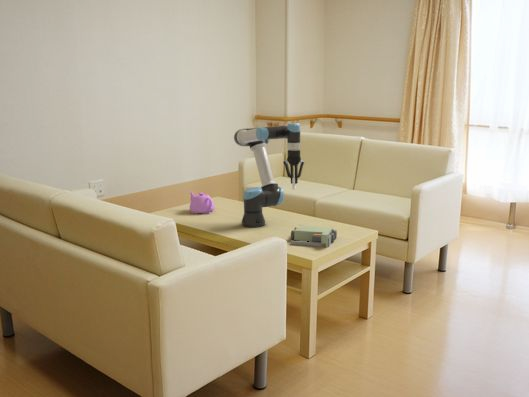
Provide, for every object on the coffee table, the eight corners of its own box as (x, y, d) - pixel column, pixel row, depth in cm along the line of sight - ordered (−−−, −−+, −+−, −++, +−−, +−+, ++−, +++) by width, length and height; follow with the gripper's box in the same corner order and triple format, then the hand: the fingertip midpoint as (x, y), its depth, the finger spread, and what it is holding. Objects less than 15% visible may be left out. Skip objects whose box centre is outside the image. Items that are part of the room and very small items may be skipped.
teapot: (222, 211, 395) (221, 192, 392) (202, 216, 383) (201, 196, 380) (199, 206, 412) (199, 188, 410) (180, 211, 400) (179, 192, 397)
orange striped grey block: (312, 244, 310) (312, 235, 309) (314, 242, 315) (314, 232, 314) (326, 245, 308) (326, 236, 307) (328, 243, 312) (328, 233, 311)
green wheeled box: (286, 244, 313) (286, 232, 311) (296, 234, 332) (296, 223, 330) (329, 247, 305) (329, 235, 304) (336, 237, 324) (336, 225, 323)
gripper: (281, 150, 327) (282, 189, 332) (303, 150, 323) (303, 190, 328) (285, 148, 334) (285, 187, 339) (306, 149, 330) (306, 188, 335)
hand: (294, 188), depth 333 cm, fingers closed
